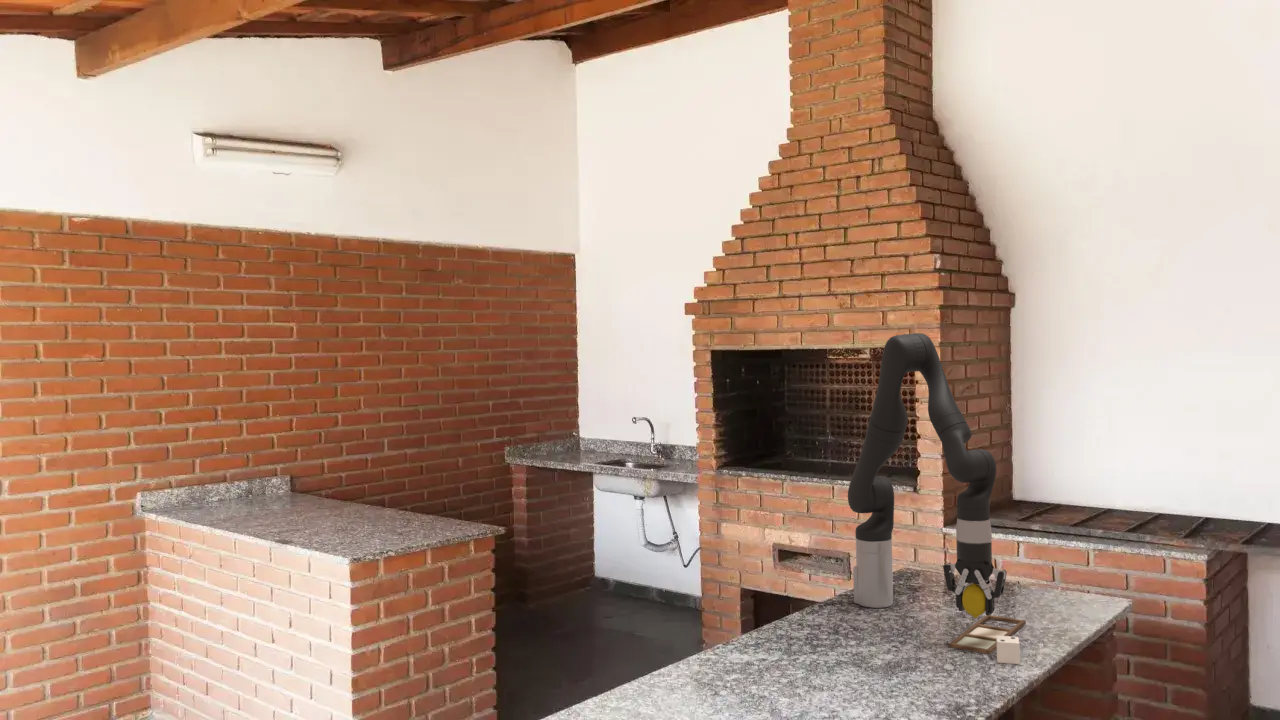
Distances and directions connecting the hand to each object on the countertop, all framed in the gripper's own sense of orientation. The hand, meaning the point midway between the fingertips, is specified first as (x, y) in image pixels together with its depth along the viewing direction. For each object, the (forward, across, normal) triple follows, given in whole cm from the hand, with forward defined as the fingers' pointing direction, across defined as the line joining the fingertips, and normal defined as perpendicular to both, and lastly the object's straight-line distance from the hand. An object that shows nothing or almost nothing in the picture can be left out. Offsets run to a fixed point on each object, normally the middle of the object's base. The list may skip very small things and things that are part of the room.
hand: (975, 612), depth 224 cm
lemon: (+1, 0, 0) cm, 1 cm away
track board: (+7, 0, +8) cm, 11 cm away
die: (+8, +9, -6) cm, 13 cm away
